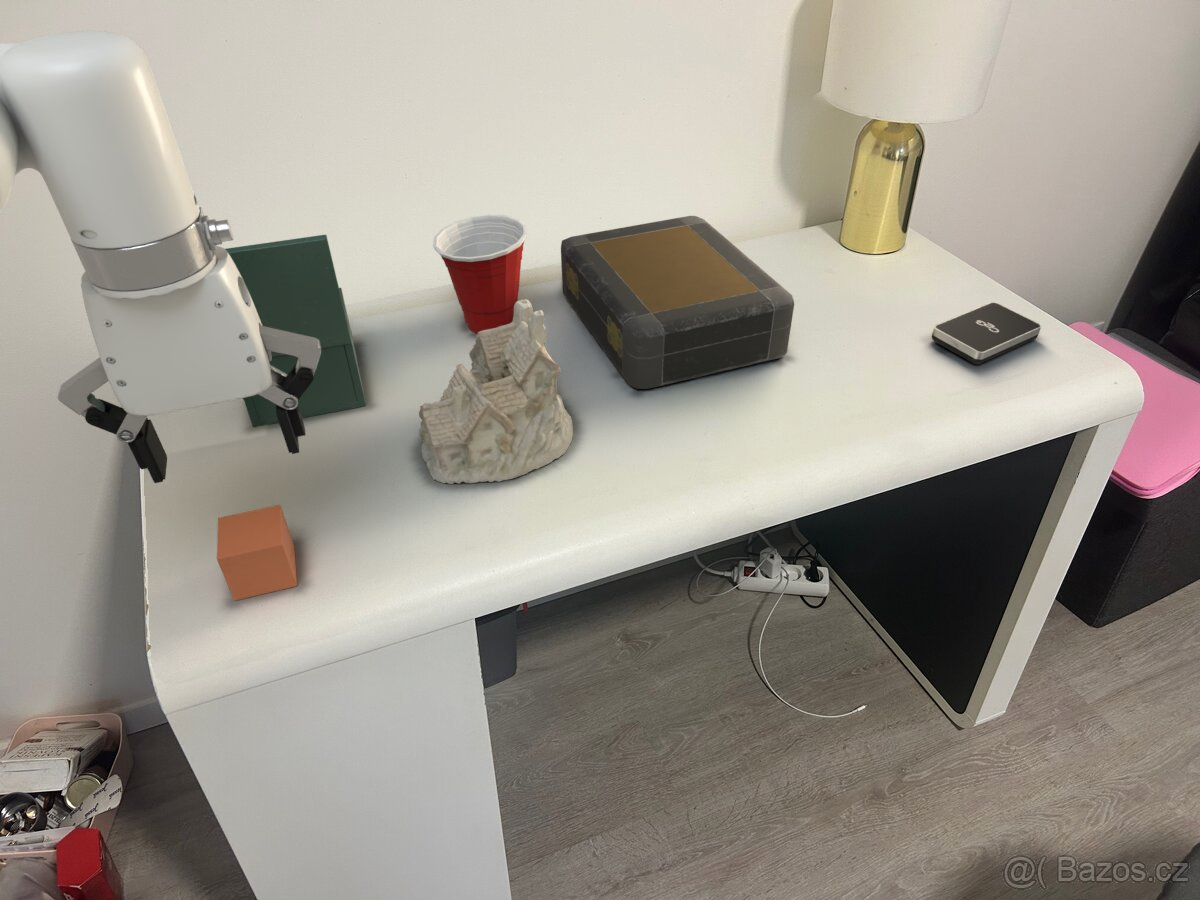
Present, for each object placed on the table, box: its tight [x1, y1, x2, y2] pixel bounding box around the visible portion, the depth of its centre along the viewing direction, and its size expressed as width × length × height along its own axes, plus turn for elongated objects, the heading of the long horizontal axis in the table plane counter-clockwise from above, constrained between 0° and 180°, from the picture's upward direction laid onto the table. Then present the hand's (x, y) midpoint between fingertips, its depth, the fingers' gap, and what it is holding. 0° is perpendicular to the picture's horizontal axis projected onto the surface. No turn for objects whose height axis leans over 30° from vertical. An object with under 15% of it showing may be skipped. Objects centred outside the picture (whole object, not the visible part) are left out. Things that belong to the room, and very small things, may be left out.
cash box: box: [560, 215, 795, 390], centre depth 101 cm, size 25×20×8 cm
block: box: [216, 504, 298, 602], centre depth 71 cm, size 5×5×5 cm
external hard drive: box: [931, 301, 1042, 365], centre depth 99 cm, size 7×11×2 cm, turn 122°
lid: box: [225, 234, 351, 356], centre depth 79 cm, size 13×12×1 cm
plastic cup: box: [432, 214, 528, 334], centre depth 100 cm, size 11×11×12 cm
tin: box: [242, 287, 367, 428], centre depth 91 cm, size 13×12×8 cm
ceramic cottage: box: [418, 298, 574, 485], centre depth 82 cm, size 16×16×15 cm
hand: (228, 456), depth 65 cm, fingers open, 9 cm apart
